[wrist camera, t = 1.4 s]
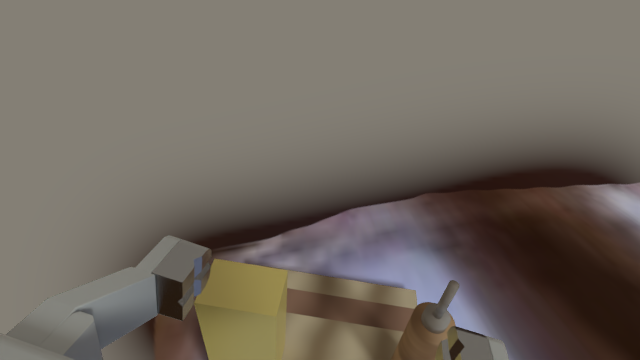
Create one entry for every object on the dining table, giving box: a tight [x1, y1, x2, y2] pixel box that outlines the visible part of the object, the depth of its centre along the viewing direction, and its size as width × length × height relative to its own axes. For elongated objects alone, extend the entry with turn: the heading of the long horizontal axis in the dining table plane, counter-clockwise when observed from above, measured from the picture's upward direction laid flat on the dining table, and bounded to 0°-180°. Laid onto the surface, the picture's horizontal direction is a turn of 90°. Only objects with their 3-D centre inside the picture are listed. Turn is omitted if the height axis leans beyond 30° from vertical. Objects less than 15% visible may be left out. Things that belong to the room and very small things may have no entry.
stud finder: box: [194, 259, 288, 360], centre depth 30 cm, size 4×6×12 cm
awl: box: [391, 280, 459, 360], centre depth 29 cm, size 3×3×15 cm
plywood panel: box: [252, 264, 417, 360], centre depth 37 cm, size 20×14×1 cm
